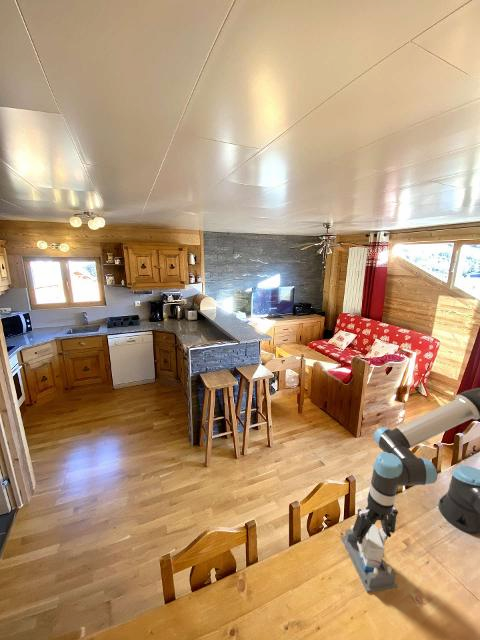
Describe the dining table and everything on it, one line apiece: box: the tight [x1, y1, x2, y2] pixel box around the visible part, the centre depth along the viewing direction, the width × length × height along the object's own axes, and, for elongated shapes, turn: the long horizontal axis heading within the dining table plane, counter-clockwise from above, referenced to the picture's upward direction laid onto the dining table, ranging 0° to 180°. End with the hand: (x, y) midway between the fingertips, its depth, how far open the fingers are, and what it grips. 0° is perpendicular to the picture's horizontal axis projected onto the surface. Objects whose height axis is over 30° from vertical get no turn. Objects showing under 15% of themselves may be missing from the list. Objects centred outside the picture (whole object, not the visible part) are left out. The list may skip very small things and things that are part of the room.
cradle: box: [340, 524, 398, 593], centre depth 95 cm, size 11×17×8 cm, turn 8°
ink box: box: [358, 524, 385, 572], centre depth 94 cm, size 8×5×12 cm, turn 171°
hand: (370, 546), depth 94 cm, fingers open, 7 cm apart
